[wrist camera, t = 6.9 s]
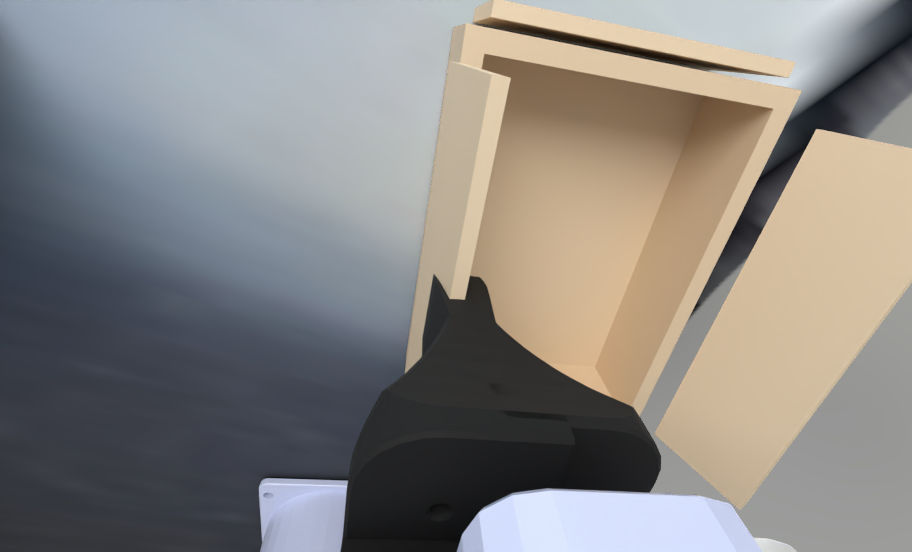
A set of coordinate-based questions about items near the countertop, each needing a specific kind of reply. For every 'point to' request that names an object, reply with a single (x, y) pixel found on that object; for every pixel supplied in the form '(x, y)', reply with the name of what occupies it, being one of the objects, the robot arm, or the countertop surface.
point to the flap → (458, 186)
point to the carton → (612, 184)
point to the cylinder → (773, 545)
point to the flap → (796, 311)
